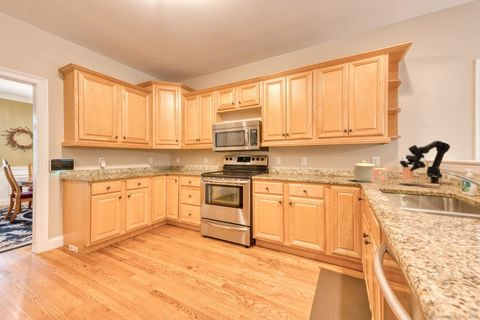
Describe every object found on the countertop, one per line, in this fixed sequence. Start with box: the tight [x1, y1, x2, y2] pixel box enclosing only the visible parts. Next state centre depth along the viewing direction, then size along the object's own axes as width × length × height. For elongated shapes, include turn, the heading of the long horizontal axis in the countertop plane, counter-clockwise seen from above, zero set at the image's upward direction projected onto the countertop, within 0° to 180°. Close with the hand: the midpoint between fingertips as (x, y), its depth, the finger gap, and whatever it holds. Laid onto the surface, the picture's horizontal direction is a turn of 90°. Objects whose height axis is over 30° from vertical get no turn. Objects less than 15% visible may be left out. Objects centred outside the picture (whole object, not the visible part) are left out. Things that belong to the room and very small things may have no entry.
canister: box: [353, 160, 375, 183], centre depth 208 cm, size 18×18×21 cm
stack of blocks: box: [371, 167, 389, 181], centre depth 223 cm, size 21×6×12 cm, turn 76°
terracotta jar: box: [400, 166, 416, 180], centre depth 182 cm, size 7×7×10 cm
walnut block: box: [417, 182, 442, 190], centre depth 172 cm, size 12×12×3 cm
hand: (406, 170), depth 182 cm, fingers closed on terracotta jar, 6 cm apart
